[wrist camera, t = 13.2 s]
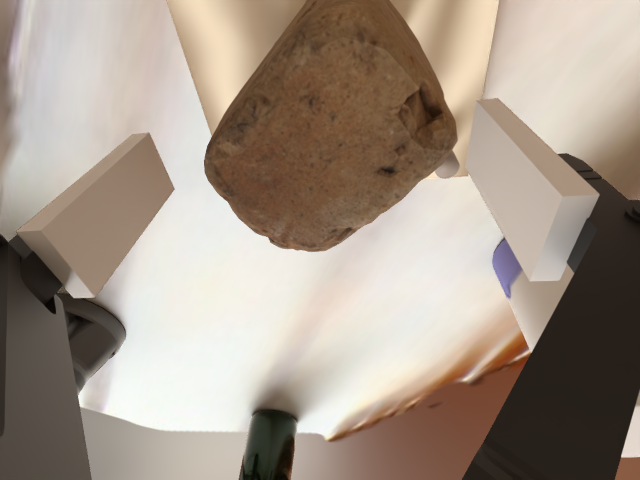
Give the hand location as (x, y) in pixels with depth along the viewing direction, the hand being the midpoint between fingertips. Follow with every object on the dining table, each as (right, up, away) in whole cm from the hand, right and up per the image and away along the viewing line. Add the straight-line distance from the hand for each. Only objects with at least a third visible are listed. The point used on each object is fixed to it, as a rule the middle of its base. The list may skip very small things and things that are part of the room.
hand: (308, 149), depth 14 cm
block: (+1, +11, +13) cm, 17 cm away
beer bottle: (-10, -44, +62) cm, 77 cm away
